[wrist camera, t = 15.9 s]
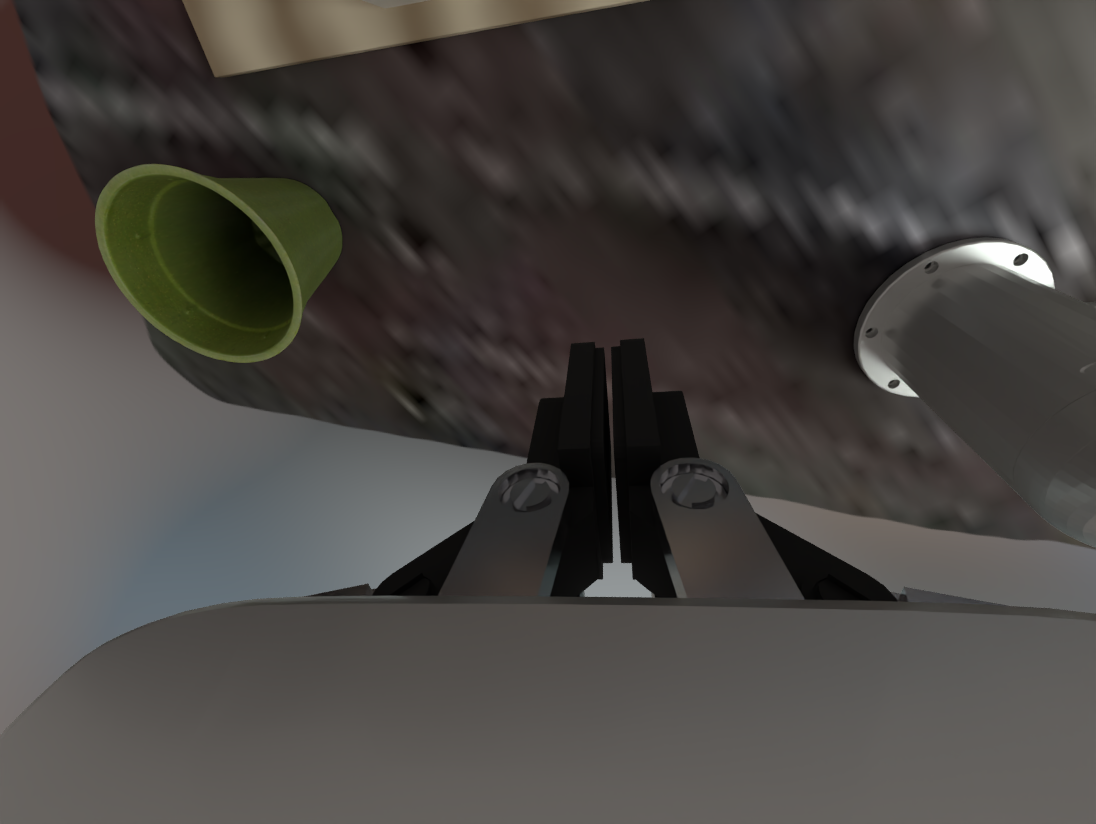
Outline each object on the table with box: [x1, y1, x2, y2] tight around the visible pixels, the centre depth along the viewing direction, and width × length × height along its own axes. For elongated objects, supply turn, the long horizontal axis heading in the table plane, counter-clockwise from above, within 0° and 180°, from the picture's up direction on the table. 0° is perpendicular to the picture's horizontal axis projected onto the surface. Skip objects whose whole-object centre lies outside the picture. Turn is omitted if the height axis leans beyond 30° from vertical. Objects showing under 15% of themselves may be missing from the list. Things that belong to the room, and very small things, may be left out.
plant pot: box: [95, 164, 342, 363], centre depth 33 cm, size 12×12×11 cm
